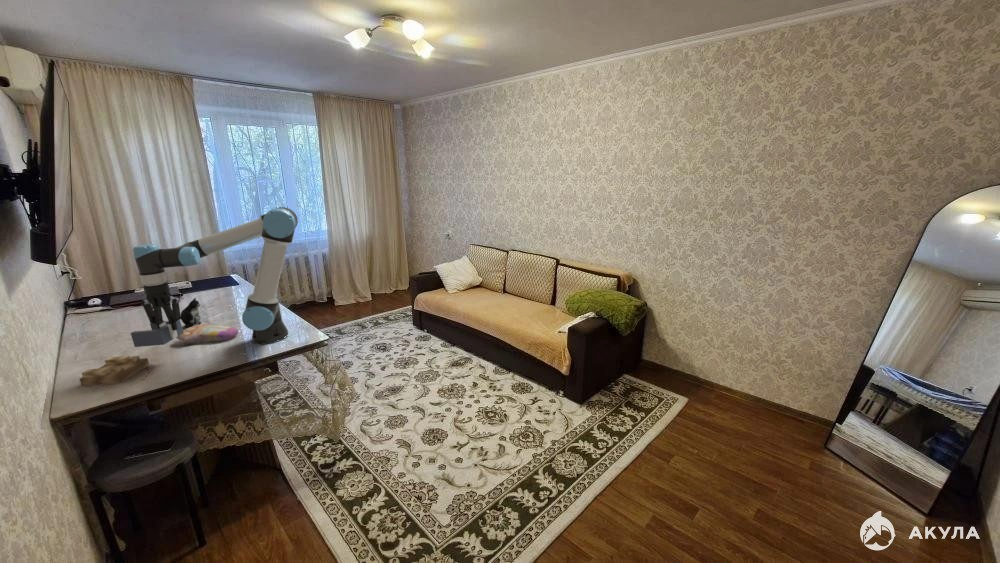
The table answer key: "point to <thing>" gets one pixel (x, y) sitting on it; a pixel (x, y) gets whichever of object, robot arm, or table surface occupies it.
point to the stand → (114, 370)
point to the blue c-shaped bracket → (154, 335)
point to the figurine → (191, 314)
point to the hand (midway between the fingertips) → (170, 337)
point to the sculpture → (207, 333)
